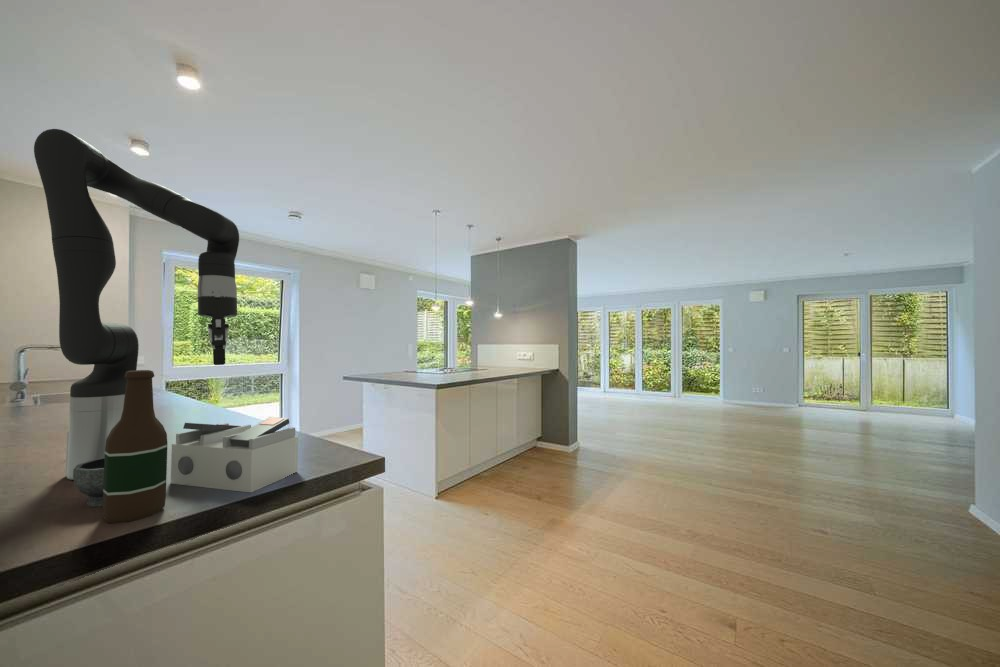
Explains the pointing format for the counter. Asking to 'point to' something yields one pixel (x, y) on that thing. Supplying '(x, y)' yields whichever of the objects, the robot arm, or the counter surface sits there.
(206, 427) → the bar
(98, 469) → the mortar and pestle
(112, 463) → the beer bottle
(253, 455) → the box
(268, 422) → the rocker
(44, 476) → the counter surface
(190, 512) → the counter surface
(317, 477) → the counter surface
